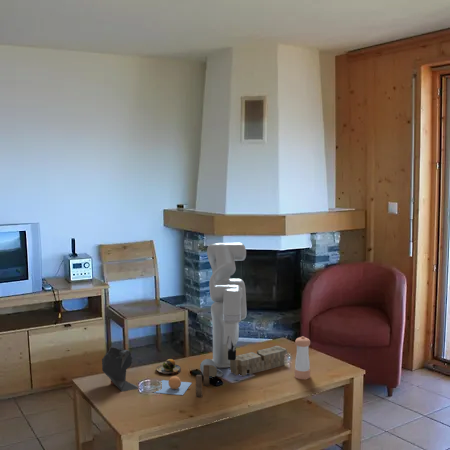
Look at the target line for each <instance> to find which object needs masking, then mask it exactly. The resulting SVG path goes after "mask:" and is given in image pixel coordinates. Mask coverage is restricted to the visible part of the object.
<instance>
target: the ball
mask: <svg viewBox="0 0 450 450" xmlns="http://www.w3.org/2000/svg"><path fill="white" fill-rule="evenodd" d="M168 381H169V382H168V384H169V386H170V388H172V389H177V388H179V387H180V385H181V382H182V381H181V379H180V377H179V376H177V375H172V376H171V377H170V378H169V379H168Z"/></svg>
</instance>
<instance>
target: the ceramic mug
mask: <svg viewBox="0 0 450 450" xmlns="http://www.w3.org/2000/svg"><path fill="white" fill-rule="evenodd" d="M203 365H209V376H212V377H214V378H215V377H218V378H221V377H223V375H224V372H223V371H222V370H221V369H220V368H217V367H216V365H215V363H214V361H213V360H212V358H205V359H203V360H202V361H201V363H200V365H199V368H200V369H199V370H200V372H201V375H202V377H204V370H203Z"/></svg>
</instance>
